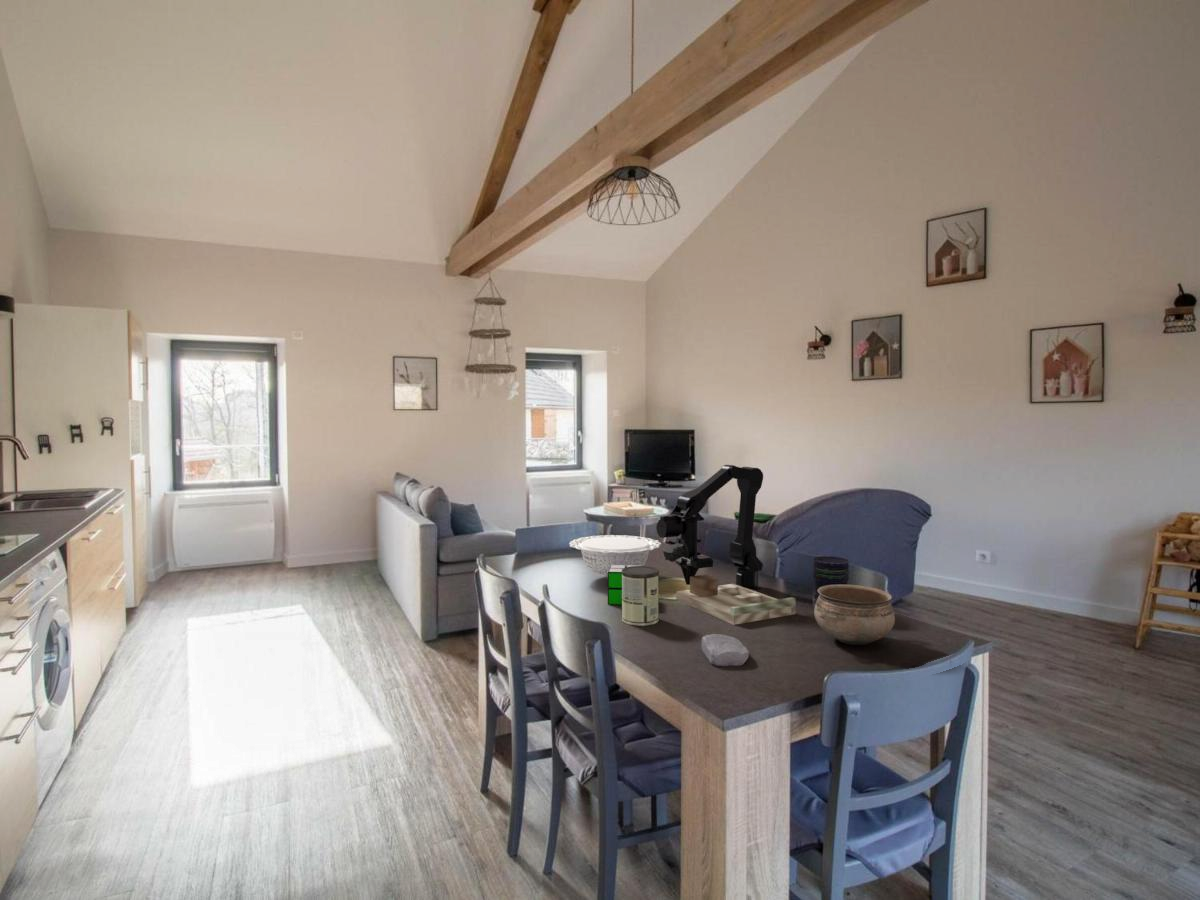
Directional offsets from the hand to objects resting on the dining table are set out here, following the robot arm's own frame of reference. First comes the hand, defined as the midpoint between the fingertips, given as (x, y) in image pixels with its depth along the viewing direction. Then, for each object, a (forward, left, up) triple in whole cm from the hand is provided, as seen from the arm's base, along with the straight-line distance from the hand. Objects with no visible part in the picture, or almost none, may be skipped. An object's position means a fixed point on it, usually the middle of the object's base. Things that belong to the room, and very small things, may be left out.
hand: (688, 584), depth 211 cm
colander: (+11, -29, -4) cm, 31 cm away
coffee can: (+27, +15, -4) cm, 31 cm away
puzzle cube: (+21, -4, -4) cm, 21 cm away
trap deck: (-5, +16, -4) cm, 17 cm away
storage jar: (-27, +32, -4) cm, 42 cm away
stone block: (+23, +48, -4) cm, 54 cm away
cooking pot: (-12, +54, -4) cm, 56 cm away
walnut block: (0, +8, -1) cm, 8 cm away
